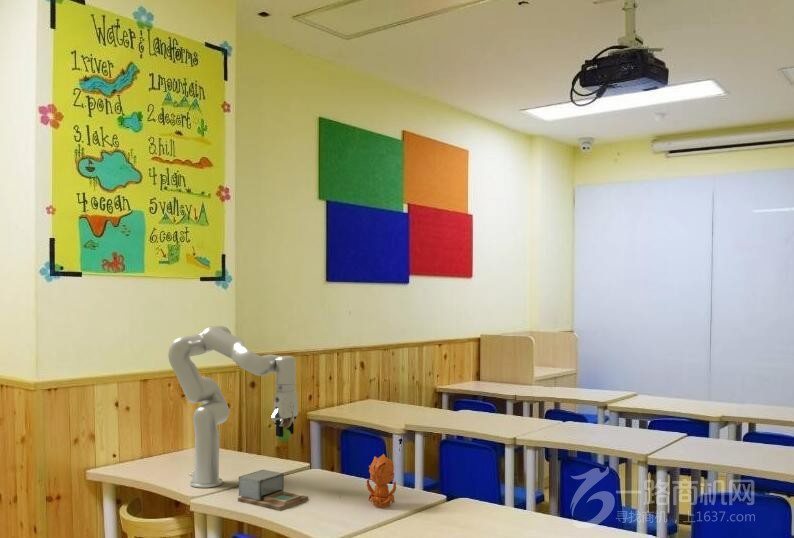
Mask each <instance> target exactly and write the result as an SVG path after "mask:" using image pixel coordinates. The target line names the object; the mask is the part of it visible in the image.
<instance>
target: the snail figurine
mask: <svg viewBox="0 0 794 538" xmlns="http://www.w3.org/2000/svg"><path fill="white" fill-rule="evenodd" d="M293 413H294V412H292V417H291V418H290V420H289V418H287V419H284V420H283V424H282V426H283V437H279V436H276V439H277V440H278V441H279V442H281V443H287V442H288V441H290V439H291V437H292V434H291V432H290V431H289V430H288V429H287V428H289V427H290V426H291V424H292V420H293ZM279 418H280V417H279ZM279 422H280V419H279Z"/></svg>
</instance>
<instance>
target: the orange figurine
mask: <svg viewBox="0 0 794 538" xmlns="http://www.w3.org/2000/svg"><path fill="white" fill-rule="evenodd" d="M368 468H369V470H368V472H369V474H370V475H369V476H370V477H369V478H367V479H366V489H367V491H368V492H369V495H368V498H367V499H368V502H371V504H373V507H375V508H382V509H383V508H388V507H390V505H391V504H394V503H395V502H396V501H395V492H396V491H397V481H396V480H395V472H394V471H395V467H394V462H393V461H392V459H390V458H388V457H386V454H384V453H383V454H382V455H381V456H379V457H377V456H375V455H374V457H373V460H372V462H371V463H370V465H368ZM393 480H394V481H393ZM370 481H371V482H373V483H374V484H375V486H374V488H372V485H371V484H370ZM392 481H393V486H392V489H391V490H390V491H389V485H388V484H390V483H391V482H392Z"/></svg>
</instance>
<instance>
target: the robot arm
mask: <svg viewBox="0 0 794 538" xmlns="http://www.w3.org/2000/svg"><path fill="white" fill-rule="evenodd" d="M212 351H215V352H217V353H219V354H221V355H223V356H225V357H227V358H229V359H230V360H232V361H233V362H234V363H235V364H236V365H237V366H238V367H240V368H241V369H243V370H244V371H247V372H249V373H251V374H253V375H255V376H259V377H264V376H268V375H272V374H275V392H274V398H273V405H272V406H273V408H272V409H273V410H272V415H271V419H270V420H271V421H272V422H273V424H274V426H275V436H276V437H277V436H279V437H283V426H282V424H283V420H284V419H287V418H289V420H290V418H291V417H292V412H294V413H293V420H292V424H291V426H290V427H289V428H287V429H288V430H289V431H290V432H291V435H293V434H294V433H295V432H294V431H295V429H294V427H295V425H294V424H296V422H295V421H296V419H297V417H298V415H299V403H298V402H299V401H298V395H297V390H296V367H297V363H296V358H295V356H292V355H277V354H276V355H275V354H264V355H259V354H257V353H255V352H253V351H251V350H250V349H248V348H247V347H246V346H245V342H244V340H243V339H241V338H240V337H237V336H236V335H233V334H232V332H231V330H230V329H229V328H228V327H227V326H224V325H214V326H209V327H207V328H204V330H202V332H201V333H197V334H190V335H183V336H179V337H178V338H176V339H174V341H172V343H171V344H170V346H169V349H168V352H167V353H168V355H167V357H168V362H169V364H170V366H171V368H172V370H173V372H174V373H175V376H176V378H177V380H178V383H179V386H180V387H181V389H182V391H183V393H184V396H185V398H186V399H187V401H189V403H191V404H199V403H202V404H201V405H200V406H198V407H197V408H196V409H195V410H194V413H193V416H192V422H193V429H194V462H193V463H194V467H193V469H192V470H191V472H189V473H188V476H189V477H192V479H191V480H190V481H189V485H190V486H191V487H193V488H199V489H200V488H202V489H203V488H205V489H206V488H214V487H218V486H220V485H222V484H223V482H224V479H222V478H221V477H220V434H219V433H220V431H219V429H218V425H221V424H223V423H225V422H226V421H228V419H229V417H230V408H229V405H228V403H227V400H226V398H225V397H224V394H223V391H222V390H221V389H220V386H219V384H218V383H217V382H216V381H215V380H214V379H213V378H211V377H209V376H207V377H205V376H204V377H202V375H201V372H199V369H198V367H197V366H196V364H195V362H194V361H192V360H191V357H194V356H200V355H204V354H206V353H209V352H212ZM279 417H280V418H279ZM279 419H280V422H279Z"/></svg>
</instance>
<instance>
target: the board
mask: <svg viewBox="0 0 794 538" xmlns="http://www.w3.org/2000/svg"><path fill="white" fill-rule="evenodd" d="M306 501H309V496H307V495H303V494H299V493H295V492H291V491H286V490H284V491H280V492H272V493H269V494H266V495H263V496H262V498H261V500H260V501H259V500H255V499H250V498H246V497H241V496H238V497H237V502H240V503H245V504H248V505H252V506H258V507H261V508H267V509H271V510H274V511H282V510H284V509H288V508H290V507H293V506H296V505H298V504H300V503H303V502H306Z"/></svg>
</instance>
